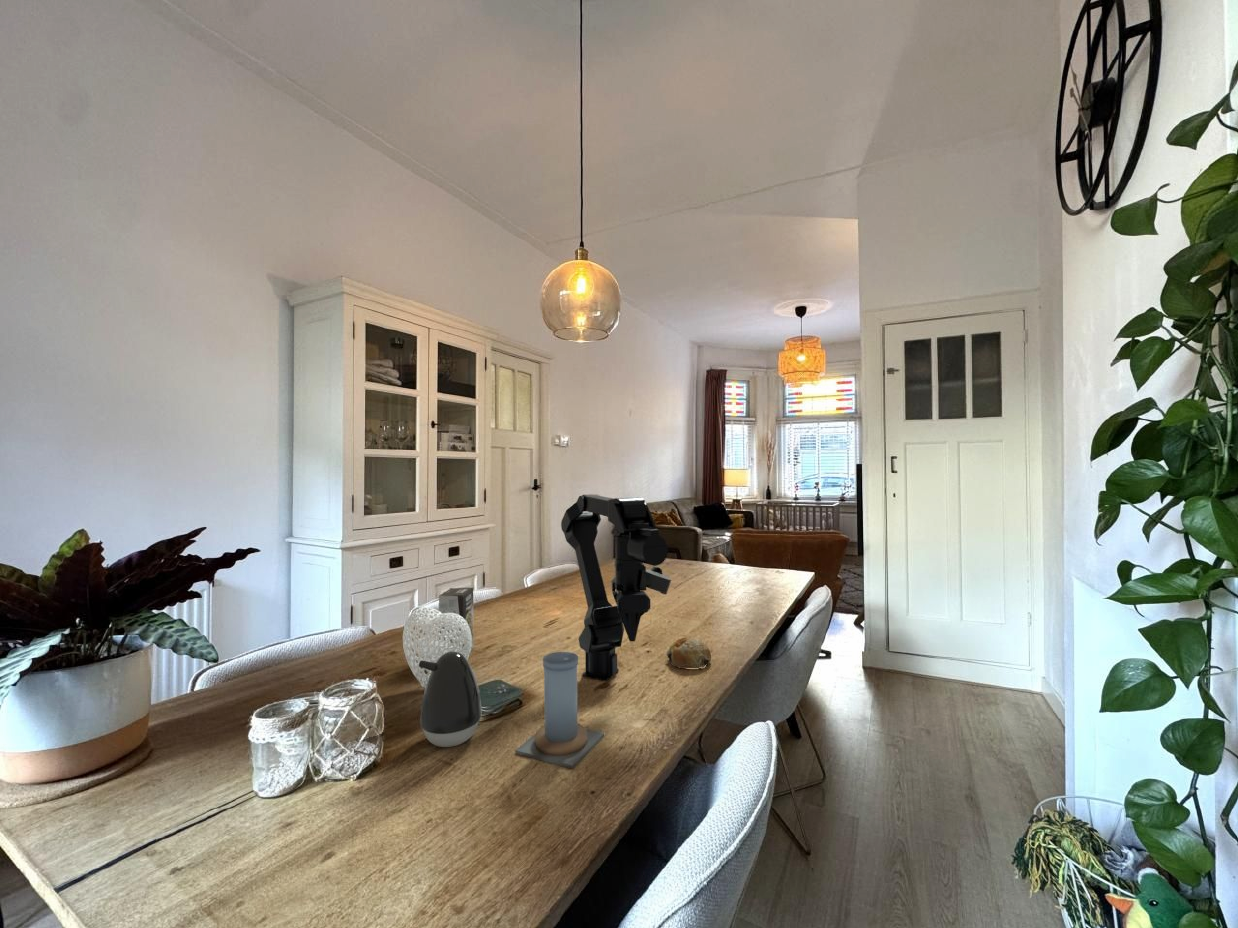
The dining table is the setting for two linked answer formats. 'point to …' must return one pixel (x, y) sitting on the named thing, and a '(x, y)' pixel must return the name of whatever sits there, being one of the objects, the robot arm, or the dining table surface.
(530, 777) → the dining table surface
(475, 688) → the pump dispenser
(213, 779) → the dining table surface
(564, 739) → the canister
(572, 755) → the grey brown domed tile
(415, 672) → the decorative heart
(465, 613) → the coffee box
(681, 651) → the brown domed lump
